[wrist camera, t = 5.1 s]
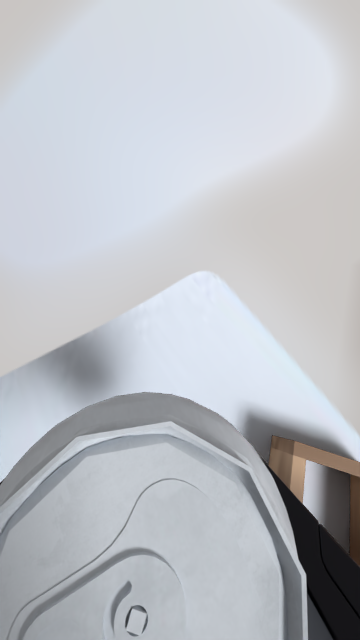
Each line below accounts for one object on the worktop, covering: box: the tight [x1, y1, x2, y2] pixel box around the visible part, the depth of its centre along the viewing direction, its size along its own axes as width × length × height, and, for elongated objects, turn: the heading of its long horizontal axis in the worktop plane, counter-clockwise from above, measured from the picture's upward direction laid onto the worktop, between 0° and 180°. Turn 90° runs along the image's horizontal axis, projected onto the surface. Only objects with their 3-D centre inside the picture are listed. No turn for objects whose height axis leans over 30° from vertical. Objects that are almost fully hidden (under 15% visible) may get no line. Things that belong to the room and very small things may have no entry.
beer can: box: [0, 392, 308, 640], centre depth 8 cm, size 5×5×12 cm
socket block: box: [268, 435, 360, 566], centre depth 18 cm, size 8×8×4 cm
